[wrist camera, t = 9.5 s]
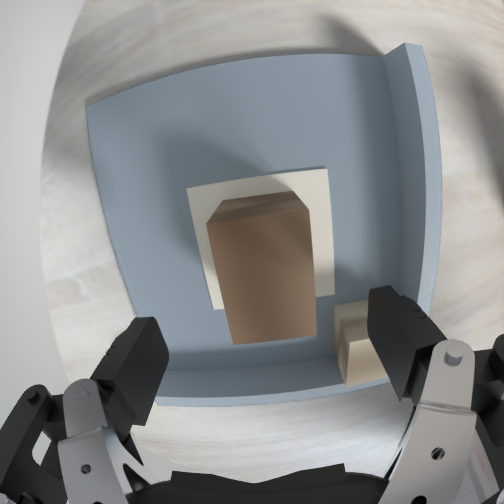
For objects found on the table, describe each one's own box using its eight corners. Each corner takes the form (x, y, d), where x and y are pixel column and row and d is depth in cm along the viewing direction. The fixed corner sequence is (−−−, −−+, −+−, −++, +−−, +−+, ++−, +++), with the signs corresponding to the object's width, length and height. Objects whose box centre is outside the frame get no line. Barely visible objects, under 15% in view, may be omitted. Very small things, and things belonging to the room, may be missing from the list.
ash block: (381, 338, 19) (399, 373, 15) (333, 348, 19) (345, 386, 15) (386, 295, 17) (410, 328, 14) (334, 305, 18) (349, 342, 14)
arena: (395, 344, 20) (412, 375, 17) (168, 371, 22) (157, 405, 18) (391, 62, 13) (422, 46, 9) (93, 108, 14) (58, 103, 10)
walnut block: (293, 190, 15) (309, 209, 10) (302, 286, 17) (316, 335, 12) (222, 200, 15) (205, 223, 10) (239, 294, 17) (233, 345, 13)
